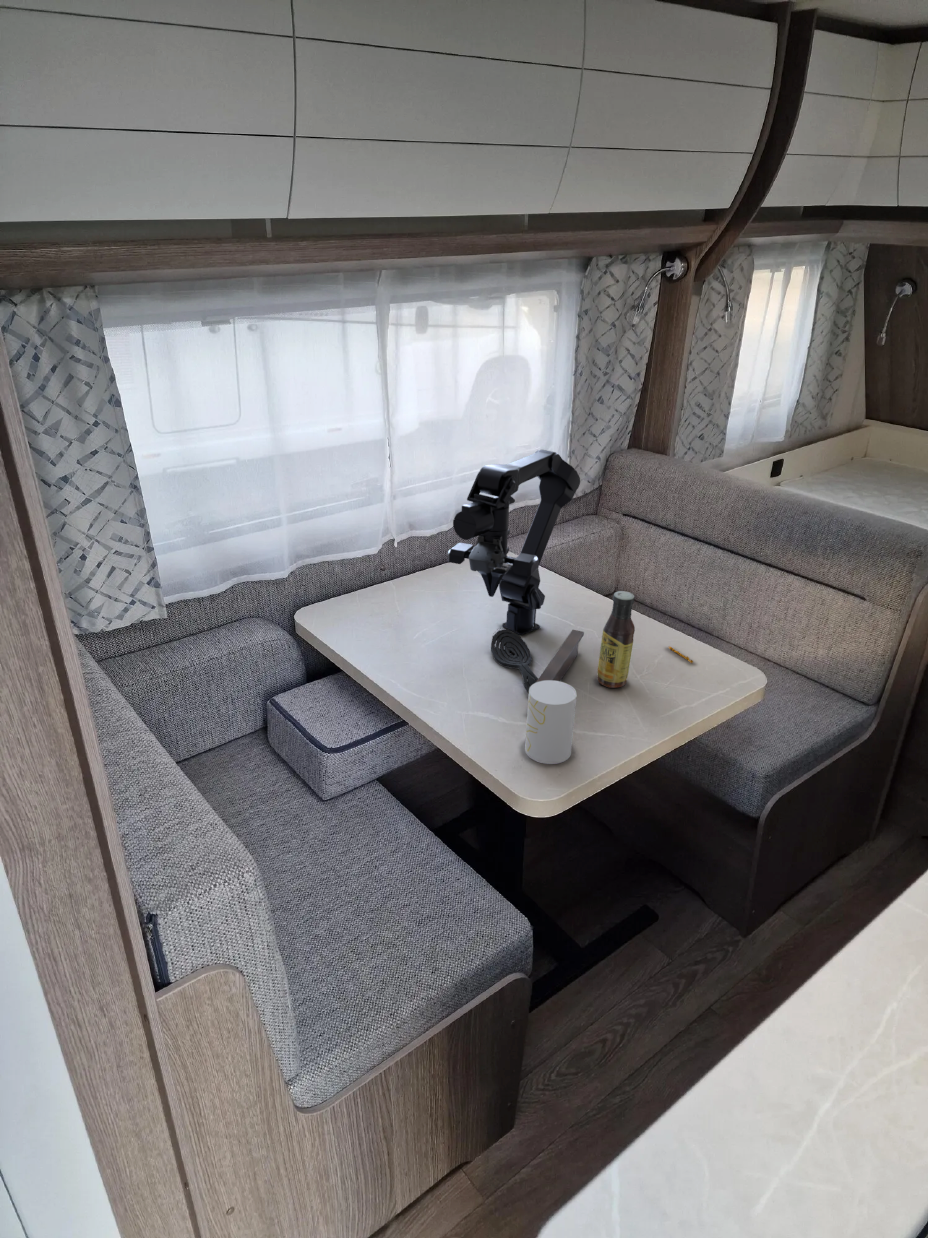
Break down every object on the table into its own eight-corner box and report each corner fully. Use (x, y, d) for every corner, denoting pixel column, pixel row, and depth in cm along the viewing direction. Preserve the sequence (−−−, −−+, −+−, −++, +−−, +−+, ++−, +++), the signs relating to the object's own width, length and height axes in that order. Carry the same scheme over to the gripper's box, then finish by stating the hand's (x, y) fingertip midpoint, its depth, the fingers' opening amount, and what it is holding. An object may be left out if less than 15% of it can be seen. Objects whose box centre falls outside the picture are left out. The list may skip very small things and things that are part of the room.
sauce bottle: (590, 677, 169) (599, 589, 160) (616, 672, 171) (627, 585, 162) (607, 692, 163) (617, 602, 155) (633, 687, 166) (645, 598, 157)
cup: (521, 738, 148) (525, 680, 143) (566, 737, 149) (571, 679, 144) (528, 764, 141) (532, 705, 136) (575, 763, 142) (581, 704, 136)
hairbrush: (518, 689, 158) (485, 627, 180) (516, 704, 160) (485, 641, 181) (558, 685, 160) (521, 624, 182) (556, 700, 162) (520, 639, 183)
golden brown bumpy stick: (693, 663, 176) (694, 659, 175) (690, 664, 175) (690, 660, 175) (670, 648, 182) (670, 644, 181) (666, 649, 181) (667, 645, 181)
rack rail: (570, 653, 179) (572, 629, 176) (582, 655, 178) (584, 631, 175) (529, 715, 155) (530, 689, 153) (542, 718, 154) (544, 692, 152)
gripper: (437, 532, 166) (436, 602, 172) (524, 546, 159) (519, 618, 166) (458, 516, 175) (457, 583, 182) (541, 529, 168) (537, 598, 175)
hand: (491, 596), depth 176 cm, fingers closed
